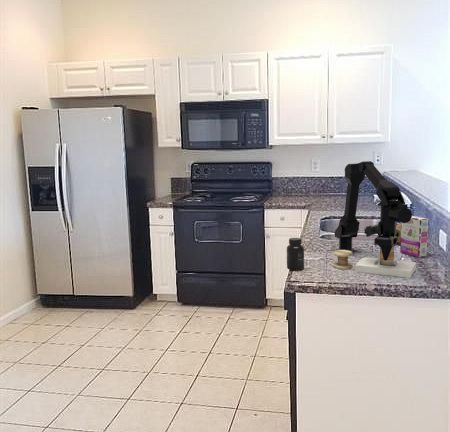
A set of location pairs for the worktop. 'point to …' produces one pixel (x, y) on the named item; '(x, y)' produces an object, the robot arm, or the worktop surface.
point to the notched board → (385, 268)
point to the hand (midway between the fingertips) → (386, 258)
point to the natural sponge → (400, 233)
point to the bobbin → (342, 259)
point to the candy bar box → (415, 237)
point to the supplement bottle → (295, 254)
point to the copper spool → (390, 259)
